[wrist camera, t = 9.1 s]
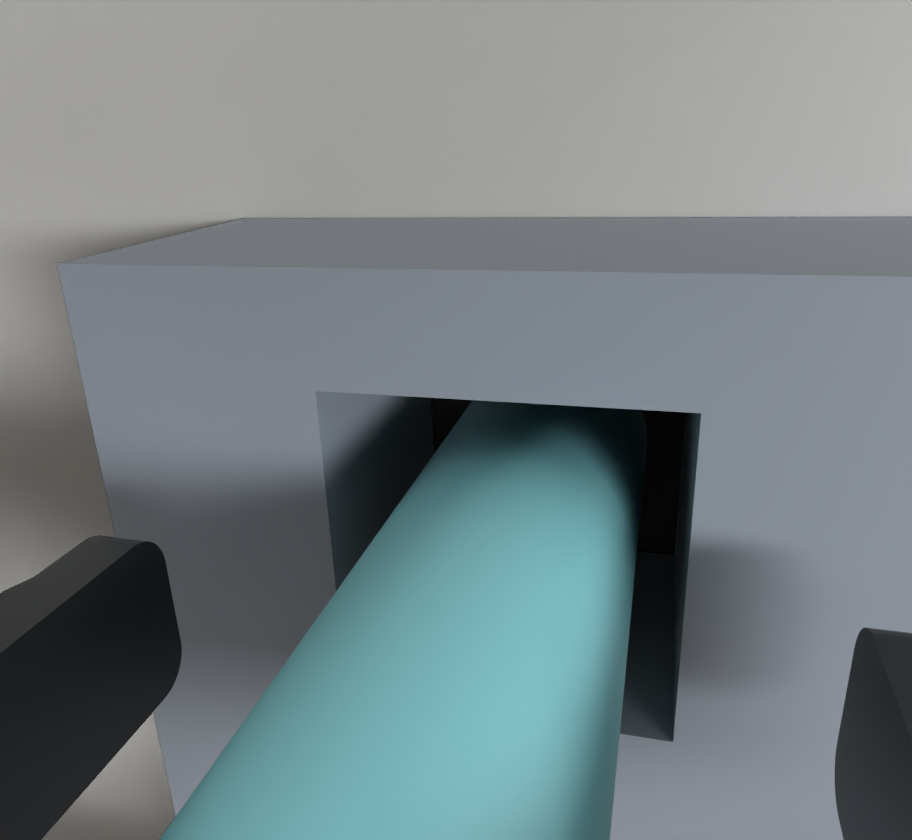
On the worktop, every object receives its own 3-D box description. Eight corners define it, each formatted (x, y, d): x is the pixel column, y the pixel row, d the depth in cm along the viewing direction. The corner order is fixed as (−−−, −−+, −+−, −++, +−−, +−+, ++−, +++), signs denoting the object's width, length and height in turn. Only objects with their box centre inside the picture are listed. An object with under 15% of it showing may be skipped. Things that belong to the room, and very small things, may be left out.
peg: (467, 346, 15) (38, 826, 5) (652, 354, 14) (588, 951, 4) (472, 508, 16) (136, 1152, 6) (641, 523, 15) (573, 1302, 5)
